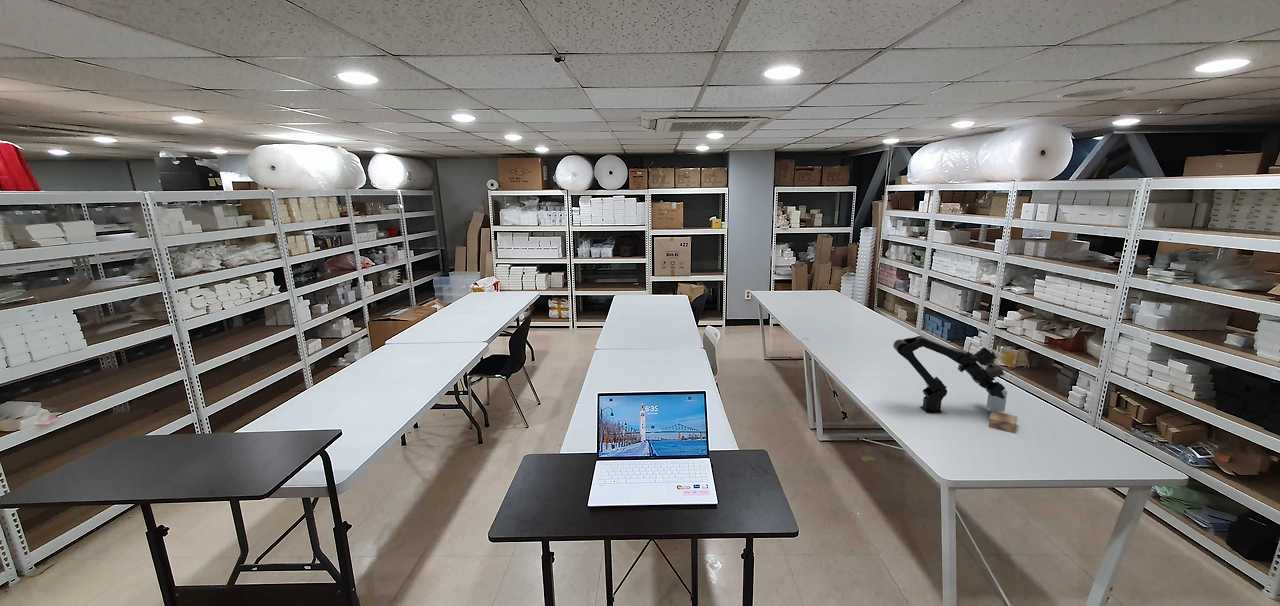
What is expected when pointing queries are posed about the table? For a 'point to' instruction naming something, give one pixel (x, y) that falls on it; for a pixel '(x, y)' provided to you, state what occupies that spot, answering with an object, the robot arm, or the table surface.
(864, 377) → the table surface
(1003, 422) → the tan flat square block
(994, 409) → the slate block
